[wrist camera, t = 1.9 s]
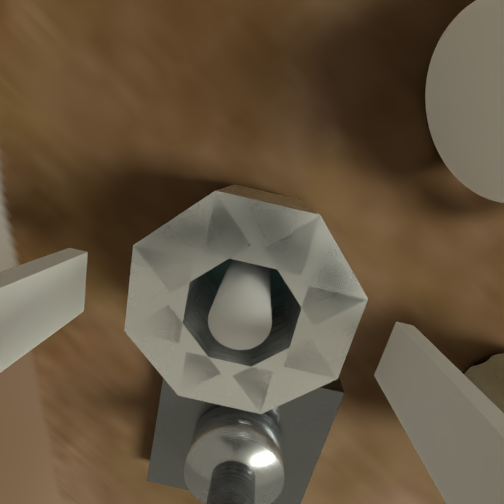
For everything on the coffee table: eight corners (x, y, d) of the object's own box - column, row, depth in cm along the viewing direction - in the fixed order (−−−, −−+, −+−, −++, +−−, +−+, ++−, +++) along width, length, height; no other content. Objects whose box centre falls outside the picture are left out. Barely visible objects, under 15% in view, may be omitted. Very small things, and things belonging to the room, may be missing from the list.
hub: (174, 339, 19) (95, 482, 10) (338, 376, 19) (399, 548, 11) (154, 461, 23) (81, 648, 14) (294, 492, 23) (312, 697, 14)
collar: (188, 173, 15) (140, 173, 9) (345, 210, 15) (393, 231, 9) (167, 314, 18) (119, 382, 12) (302, 345, 18) (319, 426, 12)
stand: (207, 194, 16) (159, 209, 9) (319, 220, 16) (361, 256, 9) (188, 297, 18) (138, 377, 11) (289, 320, 18) (304, 414, 11)
